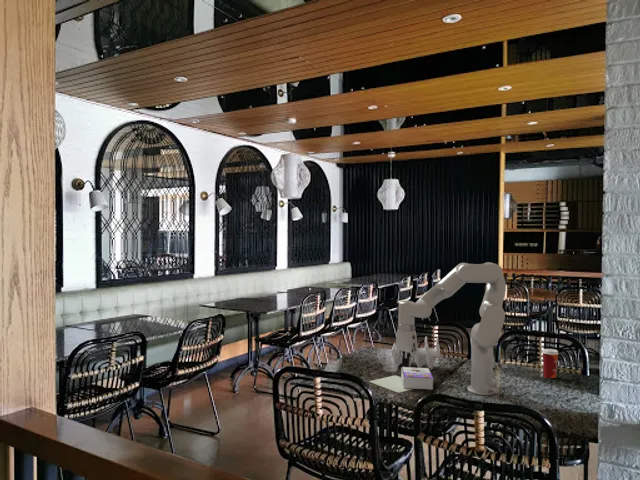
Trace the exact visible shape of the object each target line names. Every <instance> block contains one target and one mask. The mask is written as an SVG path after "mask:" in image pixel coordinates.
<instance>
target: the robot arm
mask: <svg viewBox="0 0 640 480" xmlns="http://www.w3.org/2000/svg"><path fill="white" fill-rule="evenodd" d="M466 283H468V284H469V283H470V284H482V283H483V284H486V285H485V287H486V288H485V291H484V295H483V299H482V302H481V305H480V307H479V315H480V318H481V319H480V322H478V323H475V324H474V325H473V327H472V328H471V332H470V340H471V341H470V343H471V357H470V361H471V362H470V363H471V364H470V385H468V386H467V391H468V392H470V393H472V394H475V395H479V396H492V395H496V394H499V392H500V387H498V386H495V385H496V383H495V382H494V381H493V380H494V379H493V376H494V375H493V374H494V373H493V371H494V369H493V368H494V346H495V345H497V343H498V341H499V339H500V338H499V337H500V335H501V333H502V332H501V331H502V328H503V326H504V322H505V317H506V314H505V310H504V308H503V307H502V306H503V303H504V299H505V296H506V290H507V284H506V280H505V277H504V271H503V268H502V267H501V265H499V264H498V263H493V262H489V261H487V262H484V263H479V264H478V263H476V264H475V263H467V262H460V263H458V264H457V265H456V266H455V267H454V268H452V269H451V271H449V272H448V273H447V274H446V275H445V276H444V277H443V278H442V279H440V280H439V281H438V282H437V283H436V284H435V285H434V286H433V287H431V288H430V289H429V290H427V292H425V293H424V294H423V295H422V296H420V297H419V299H418V300H417V301H416V302H414V301H412V300H401V301H399V302H398V320H397V323H398V324H397V325H398V326H397V330H396V336H395V346H396V348H397V351H398V352H400V354H401V357H402V360H401V367H409V358H410V357H411V356H413V355H415V352H416V351H417V347H418V339H417V336H418V335H417V332H416V326H415V318H420V319H427V318H430V316H431V314H432V311H433V308H434V307H435V306H436V305H437V304H438V303H440V302H441V301H443V300H445V299H448V298H450V297H452V296H453V295H454V294H455V293H457V291H458V290H460V289H461V287H463V286H464V285H465V284H466Z"/></svg>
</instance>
